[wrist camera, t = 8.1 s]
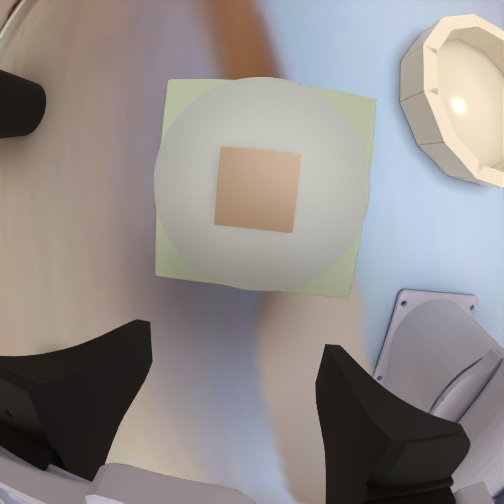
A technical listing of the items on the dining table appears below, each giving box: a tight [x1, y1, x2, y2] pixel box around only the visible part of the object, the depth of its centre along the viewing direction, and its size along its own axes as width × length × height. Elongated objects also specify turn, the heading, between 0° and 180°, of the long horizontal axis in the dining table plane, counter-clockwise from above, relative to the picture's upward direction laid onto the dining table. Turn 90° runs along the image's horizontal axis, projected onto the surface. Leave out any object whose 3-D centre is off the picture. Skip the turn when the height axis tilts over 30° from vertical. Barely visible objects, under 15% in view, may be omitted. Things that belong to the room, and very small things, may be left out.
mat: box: [155, 79, 377, 298], centre depth 20 cm, size 14×14×1 cm
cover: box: [154, 77, 370, 291], centre depth 18 cm, size 14×14×5 cm
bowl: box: [400, 14, 504, 188], centre depth 16 cm, size 12×12×4 cm
